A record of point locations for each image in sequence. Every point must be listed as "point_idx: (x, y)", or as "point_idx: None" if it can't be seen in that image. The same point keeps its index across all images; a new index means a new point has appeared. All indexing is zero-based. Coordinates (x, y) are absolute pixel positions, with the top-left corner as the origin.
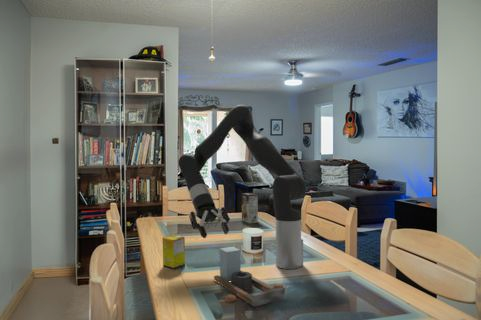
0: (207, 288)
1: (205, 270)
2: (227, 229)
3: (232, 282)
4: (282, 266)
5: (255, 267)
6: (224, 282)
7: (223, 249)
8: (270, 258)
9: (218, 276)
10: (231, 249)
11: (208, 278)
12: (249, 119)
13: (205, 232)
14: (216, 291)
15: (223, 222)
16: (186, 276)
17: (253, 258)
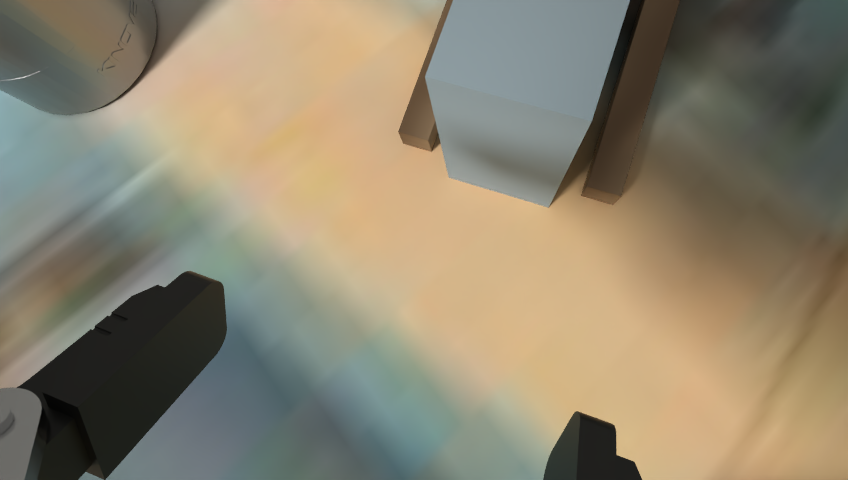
0: (749, 133)
1: (497, 420)
2: (176, 285)
3: None
4: (149, 17)
5: (225, 174)
6: (662, 51)
7: (586, 68)
8: (4, 223)
9: (605, 165)
10: (525, 6)
11: (609, 268)
12: None
13: (594, 454)
14: (741, 55)
15: (45, 430)
16: (700, 438)
17: (61, 321)
